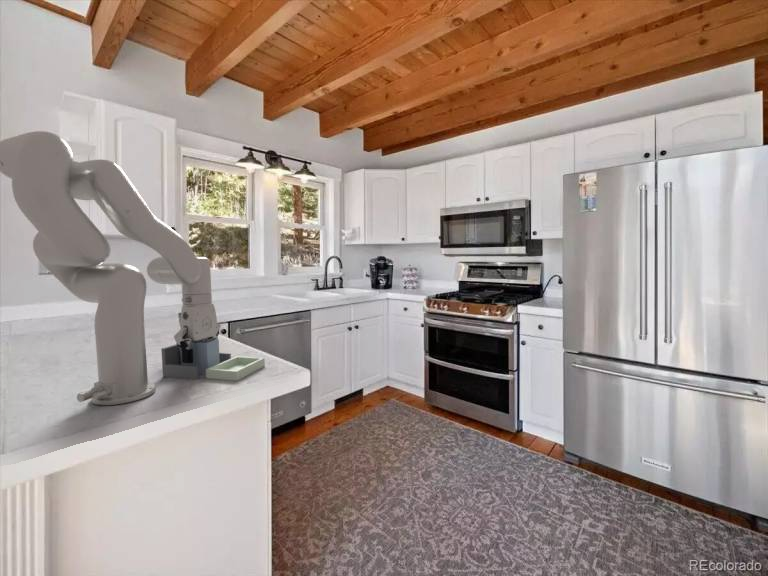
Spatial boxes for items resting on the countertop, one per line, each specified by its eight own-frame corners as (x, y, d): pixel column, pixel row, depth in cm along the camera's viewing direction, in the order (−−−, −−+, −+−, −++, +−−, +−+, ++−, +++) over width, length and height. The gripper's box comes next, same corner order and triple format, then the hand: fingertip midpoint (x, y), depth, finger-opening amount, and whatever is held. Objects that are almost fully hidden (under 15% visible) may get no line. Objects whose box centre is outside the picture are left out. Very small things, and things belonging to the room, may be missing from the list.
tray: (236, 380, 98) (236, 371, 98) (206, 378, 100) (205, 369, 100) (264, 366, 111) (264, 357, 111) (236, 364, 113) (236, 356, 113)
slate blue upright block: (208, 374, 104) (206, 340, 103) (181, 372, 106) (179, 339, 105) (219, 369, 109) (218, 336, 108) (194, 367, 111) (192, 335, 110)
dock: (196, 379, 99) (195, 350, 98) (163, 376, 102) (161, 348, 101) (231, 364, 113) (230, 338, 113) (200, 362, 116) (199, 337, 115)
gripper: (185, 303, 96) (189, 367, 98) (228, 296, 113) (230, 351, 115) (162, 303, 98) (165, 365, 100) (207, 296, 115) (209, 350, 116)
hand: (200, 358), depth 107 cm, fingers open, 9 cm apart
